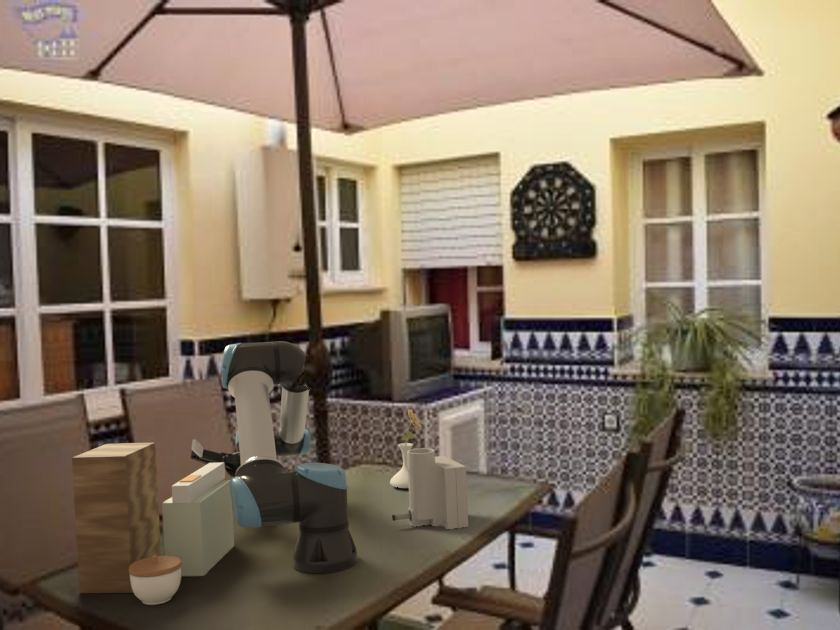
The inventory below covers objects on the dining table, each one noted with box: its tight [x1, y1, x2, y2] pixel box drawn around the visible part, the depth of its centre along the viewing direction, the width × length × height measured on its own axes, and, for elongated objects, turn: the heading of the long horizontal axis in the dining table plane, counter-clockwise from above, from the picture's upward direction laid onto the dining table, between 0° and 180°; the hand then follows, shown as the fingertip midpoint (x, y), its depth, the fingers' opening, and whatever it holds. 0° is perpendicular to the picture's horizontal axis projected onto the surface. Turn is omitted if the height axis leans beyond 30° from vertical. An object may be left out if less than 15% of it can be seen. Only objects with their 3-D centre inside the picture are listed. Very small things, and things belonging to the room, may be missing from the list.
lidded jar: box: [129, 555, 182, 606], centre depth 173 cm, size 11×11×9 cm
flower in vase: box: [389, 408, 423, 489], centre depth 265 cm, size 13×11×25 cm
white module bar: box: [171, 462, 226, 503], centre depth 199 cm, size 25×4×4 cm, turn 175°
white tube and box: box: [391, 447, 469, 530], centre depth 221 cm, size 16×19×20 cm
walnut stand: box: [71, 442, 162, 594], centre depth 186 cm, size 16×13×30 cm
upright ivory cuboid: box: [161, 479, 235, 577], centre depth 198 cm, size 22×9×17 cm, turn 175°
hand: (218, 443), depth 214 cm, fingers open, 13 cm apart
